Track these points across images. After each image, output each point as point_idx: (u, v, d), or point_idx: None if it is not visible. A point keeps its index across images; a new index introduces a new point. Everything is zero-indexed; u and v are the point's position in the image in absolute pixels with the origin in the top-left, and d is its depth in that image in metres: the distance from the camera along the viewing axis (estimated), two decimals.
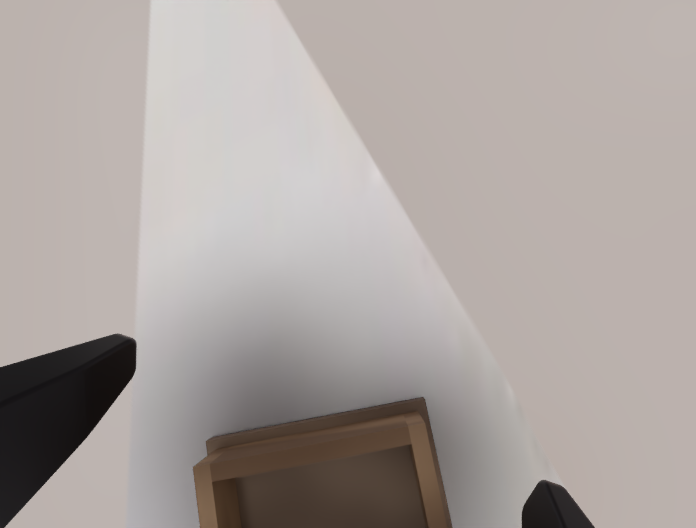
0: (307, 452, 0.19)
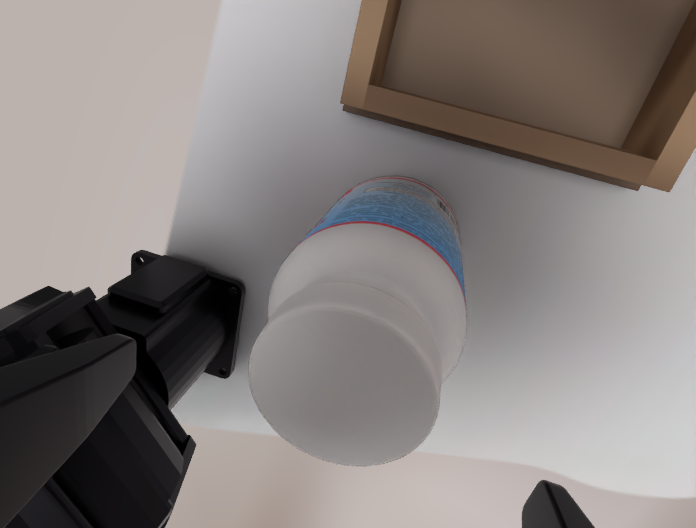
0: None
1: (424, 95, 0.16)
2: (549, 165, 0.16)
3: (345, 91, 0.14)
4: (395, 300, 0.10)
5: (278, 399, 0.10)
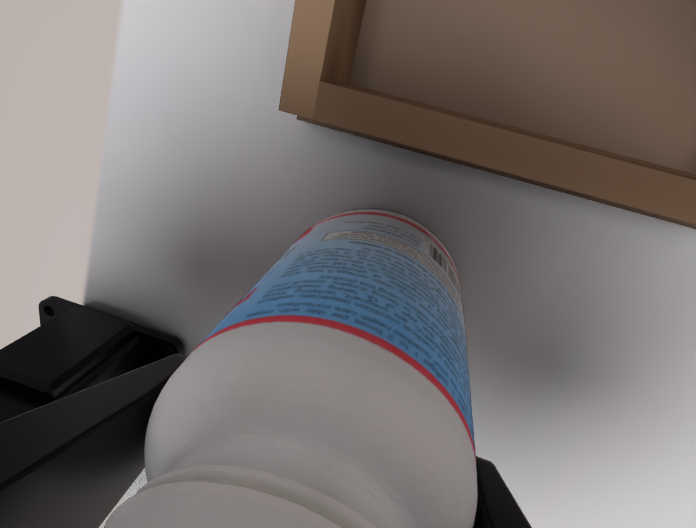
0: None
1: (410, 97, 0.11)
2: (590, 198, 0.11)
3: (285, 92, 0.09)
4: None
5: None
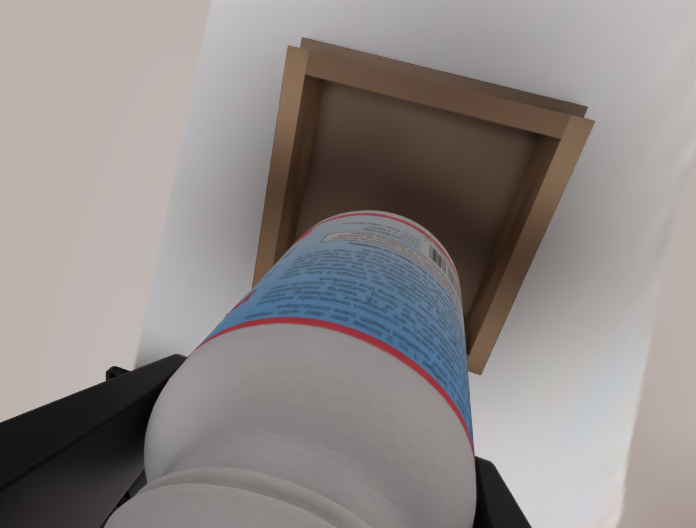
0: (430, 91, 0.15)
1: None
2: None
3: None
4: None
5: None
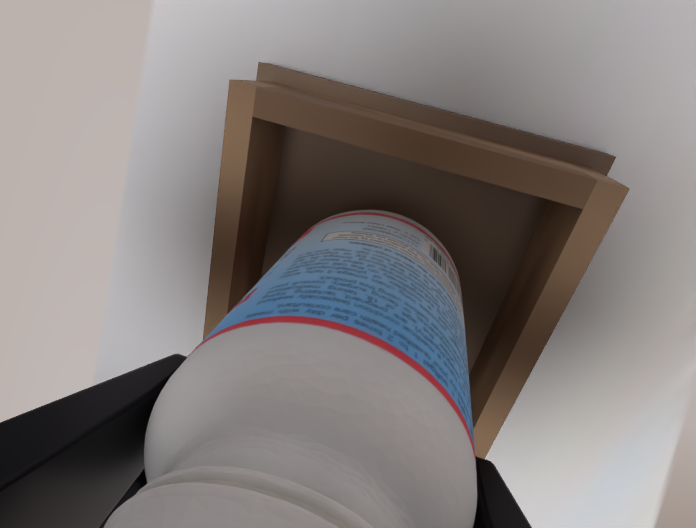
0: (412, 142, 0.11)
1: None
2: None
3: None
4: None
5: None
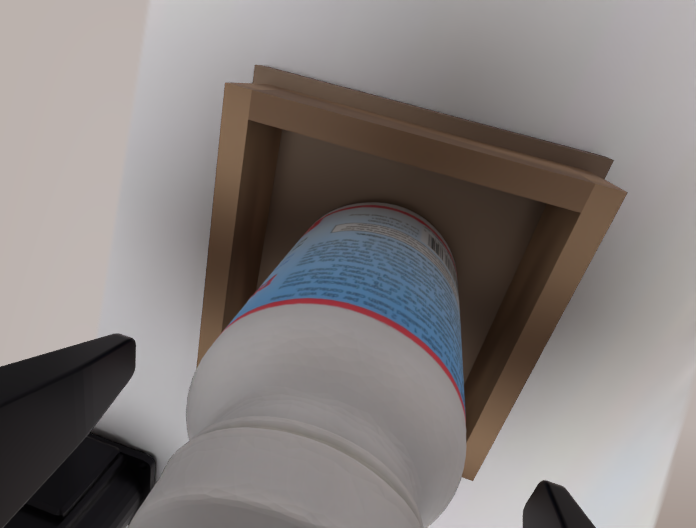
0: (409, 146, 0.11)
1: None
2: None
3: None
4: (351, 463, 0.06)
5: None
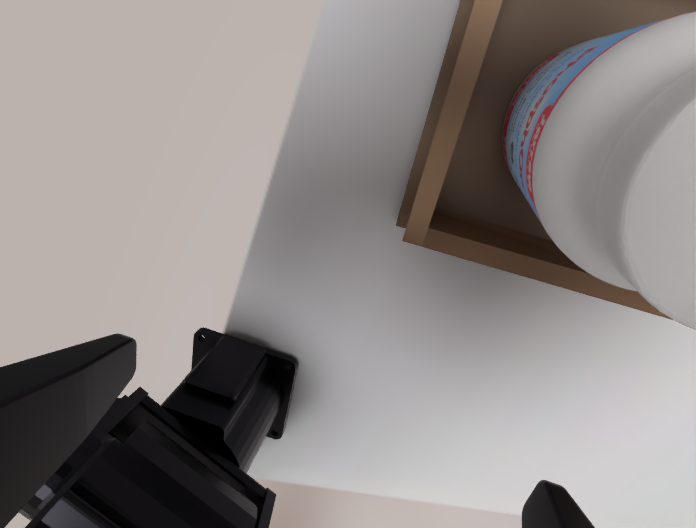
0: None
1: (471, 217, 0.18)
2: None
3: (407, 232, 0.16)
4: None
5: (671, 230, 0.07)
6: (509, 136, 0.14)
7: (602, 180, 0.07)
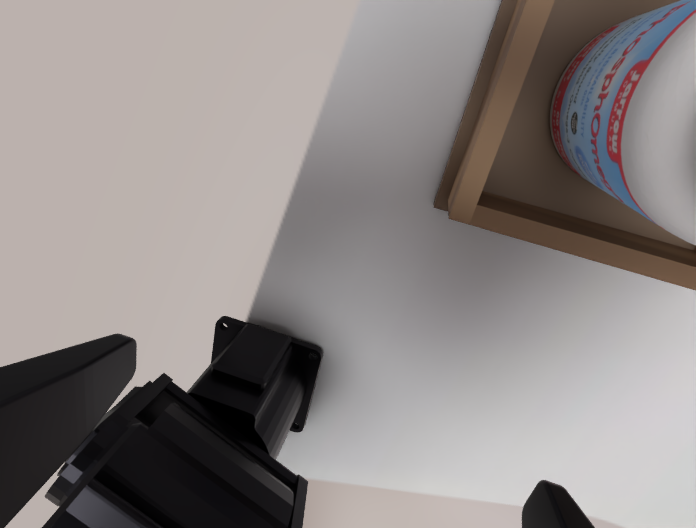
0: None
1: (512, 198, 0.18)
2: None
3: (454, 209, 0.16)
4: None
5: None
6: (567, 108, 0.14)
7: None
